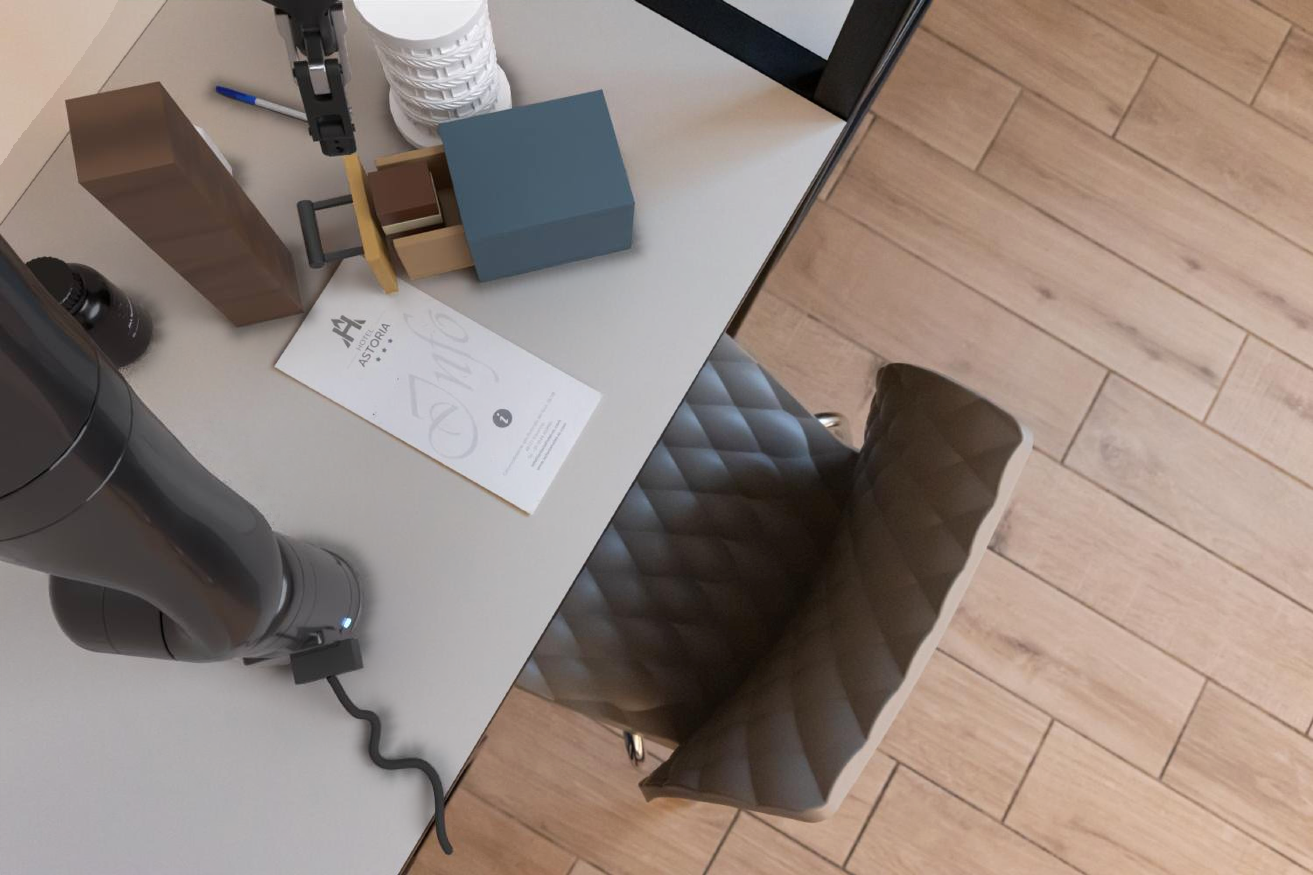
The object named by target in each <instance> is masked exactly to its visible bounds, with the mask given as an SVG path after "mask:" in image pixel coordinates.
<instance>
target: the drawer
mask: <svg viewBox="0 0 1313 875" xmlns="http://www.w3.org/2000/svg"><path fill="white" fill-rule="evenodd" d="M342 159H343V163H344V167H345V171H346V176H347V181H348V185H349V190H350V194H345V195H341V196H336V197H331V198H327V199H321V200H318V201H312V200H310V199H301V200H299V201H297V202H296V203H295V204H296V205H295V206H296V210H297V215H298V219H299V224H300V227H301V228H300V229H301V233H302V238H303V244H304V247H305V253H306V256H307V261H308V266H309V268H310V269H312V270H319V269H323V268H324V267H326V265H327V263H332V262H336V261H340V260H345V259H350V258H354V257H359V256H363V255H364V257H365V261H366V263H367V265H368V267H369V268H370V270H371V272H372V273H373V275H374V276H375V278H376V280H377V282H378V283H379V285H380V286H381V289H382V291H383V292H384V294H385V295H390V294H394V293H399V292H400V290H399V285H398V281H397V277H396V273H395V268H394V264H393V260H392V259H393V258H392V256H391V250H390V245H389V240H388V237H387V235H386V234H385V232H384V230H383V228H382V226H381V223H380V221H379V219H378V217H377V215H376V211H375V206H374V202H373V197H372V193H371V188H370V184H369V179H368V175H367V172H366V170H365V168H364V165H363V163H362V161H361V160H360V158H359V155H358V154H357V153H353V154H351V155H343V157H342ZM421 161H426V163H427V165H428V168H429V171H430V173H431V175H432V178H433V181H434V185H435V188H436V191H437V194H438V197H439V199H440V202H441V206H442V210H443V214H444V219H445V223H446V227H447V228H443V229H438V230H434V231H429V232H425V233H420V234H416V235H411V236H407V237H402V238H398V239H393V243H394V247H395V249H396V251H397V256H398V257H399V259H400V261H401V263H402V265H403V268H404V269H405V271H406V273H407V275H408V277H409V279H410V280H411V281H413V280H416V279H417V280H418V279H421V278H425V277H431V276H434V275H438V274H443V273H447V272H451V271H456V270H460V269H465V268H468V267H475V265H474V262H473V259H472V256H471V253H470V250H469V247H468V244H467V240H466V236H465V232H464V228H463V224H462V220H461V216H460V212H459V208H458V204H457V200H456V196H455V192H454V188H453V184H452V180H451V175H450V171H449V167H448V163H447V159H446V155H445V151H444V147H443V144H442V145H437V146H432V147H428V148H423V149H414V150H409V151H405V152H401V153H400V152H399V153H396V154H390V155H386V156H381V157H377V158H374V164H375V168H376V171H379V170H383V169H388V168H393V167H398V166H402V165H407V164H412V163H416V162H421ZM350 204H353V208H354V213H355V217H356V221H357V225H358V230H359V234H360V235H359V236H360V240H361V244H362V245H358V246H355V247H349V248H346V249H341V250H337V251H333V252H327V253H324V248H323V243H322V239H321V234H320V229H319V224H318V219H317V215H316V212H318V211H323V210H328V209H332V208H338V207H340V206H341V207H342V206H346V205H350Z"/></svg>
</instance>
